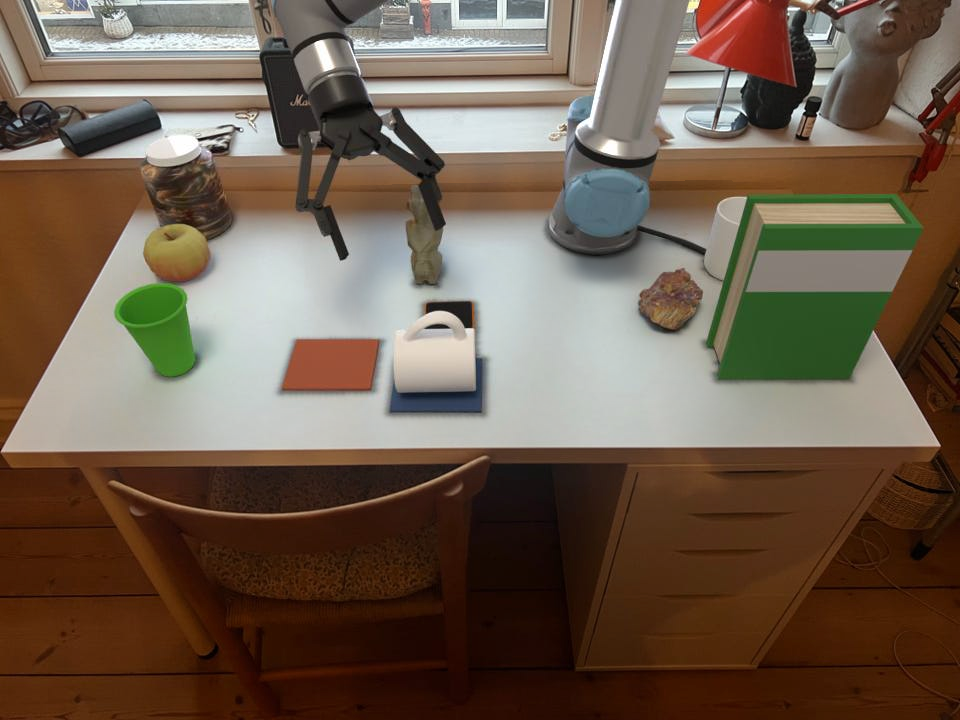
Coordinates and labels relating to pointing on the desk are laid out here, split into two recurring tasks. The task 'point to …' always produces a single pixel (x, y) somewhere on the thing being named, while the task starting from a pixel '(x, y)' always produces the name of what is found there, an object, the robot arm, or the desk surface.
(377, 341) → the terracotta mat
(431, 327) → the smartphone
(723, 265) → the mug
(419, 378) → the mug
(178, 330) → the cup
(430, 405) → the blue mat
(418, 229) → the sculpture
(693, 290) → the mineral specimen
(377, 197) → the desk surface
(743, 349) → the hardback book
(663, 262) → the desk surface
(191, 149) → the jar
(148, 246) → the apple
